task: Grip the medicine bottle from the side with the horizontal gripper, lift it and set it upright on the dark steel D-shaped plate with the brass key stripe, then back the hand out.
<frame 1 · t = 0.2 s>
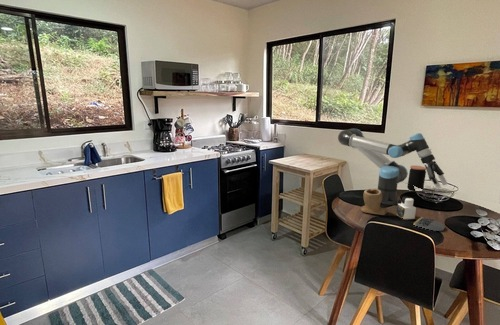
hand: (442, 186, 181), 15 cm above the table, tool tilted 35°, fingers open, 13 cm apart
coffee jar: (414, 190, 220), on the table
d plate: (430, 226, 159), on the table
medicine bottle: (405, 217, 171), on the table
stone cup: (373, 213, 175), on the table
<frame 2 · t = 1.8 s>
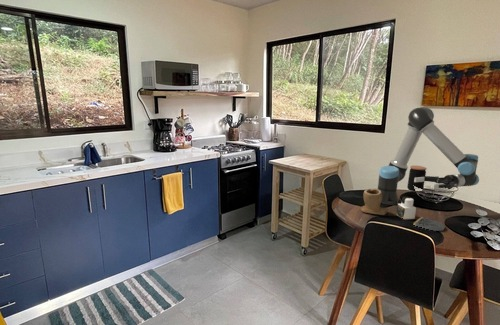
hand: (423, 183, 168), 20 cm above the table, tool horizontal, fingers open, 13 cm apart
nothing on the table moved.
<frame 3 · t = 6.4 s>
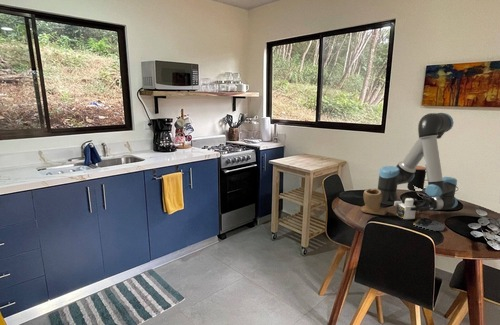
hand: (399, 206, 168), 7 cm above the table, tool horizontal, fingers closed on medicine bottle, 8 cm apart
medicine bottle: (405, 217, 171), on the table, touching gripper
everything else where it was.
when the fingers open (10 cm above the table, at t = 11.0 s): medicine bottle drops 1 cm, resting on d plate.
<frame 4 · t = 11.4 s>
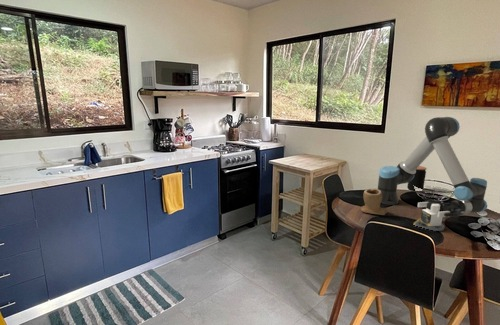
hand: (427, 209, 156), 10 cm above the table, tool horizontal, fingers open, 13 cm apart
medicine bottle: (430, 223, 158), point 1 cm above the table, touching d plate
everything else where it was.
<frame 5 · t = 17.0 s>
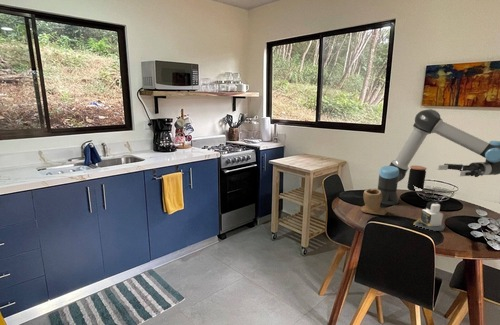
hand: (448, 170, 159), 30 cm above the table, tool horizontal, fingers open, 13 cm apart
nothing on the table moved.
at the end: medicine bottle inside the target area on the d plate (0.1 cm from its centre), point 1.3 cm above the d plate's base; medicine bottle tilted 0°; the gripper is holding nothing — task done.
